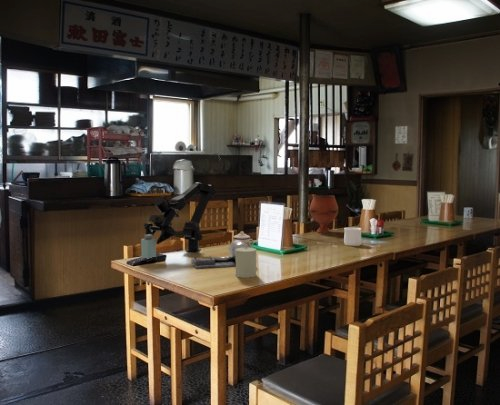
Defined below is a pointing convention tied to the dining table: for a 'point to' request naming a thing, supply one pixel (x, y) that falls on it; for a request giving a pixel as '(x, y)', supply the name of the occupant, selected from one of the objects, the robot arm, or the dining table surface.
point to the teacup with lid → (243, 238)
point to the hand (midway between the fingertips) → (150, 242)
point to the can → (245, 262)
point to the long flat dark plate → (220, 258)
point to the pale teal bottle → (148, 246)
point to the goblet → (323, 211)
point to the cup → (352, 236)
